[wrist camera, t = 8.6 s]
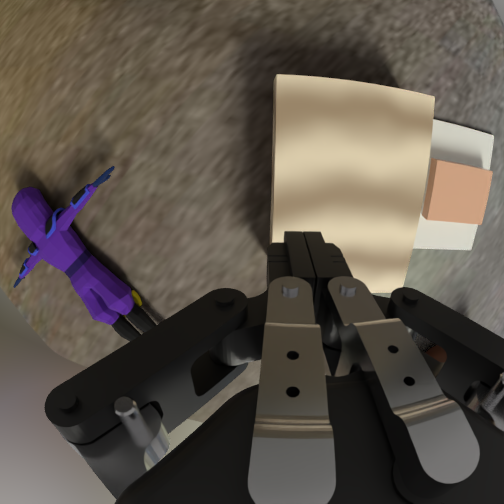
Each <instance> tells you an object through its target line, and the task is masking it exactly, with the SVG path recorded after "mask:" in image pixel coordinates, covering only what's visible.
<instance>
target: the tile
mask: <svg viewBox="0 0 504 504" xmlns="http://www.w3.org/2000/svg"><path fill="white" fill-rule="evenodd" d="M492 173H493V172H492V171H490V170H488V169H485V168H481V167H476V166H472V165H467V164H462V163H458V162H453V161H447V160H442V159H436V158H429V165H428V172H427V179H426V185H425V191H424V197H423V202H422V208H421V214H422V216H423V217H424V218H425V219H426V220H433V221H445V222H456V223H467V224H478V225H481V224H482V221H483V217H484V212H485V208H486V204H487V199H488V194H489V190H490V184H491V179H492Z"/></svg>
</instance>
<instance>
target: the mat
mask: <svg viewBox="0 0 504 504" xmlns="http://www.w3.org/2000/svg"><path fill="white" fill-rule="evenodd" d="M493 140H494V135H490V134H487V133H484V132H481V131H477V130H474V129H470V128H467V127H463V126H459V125H455V124H451V123H447V122H443V121H439V120H435V119H433V129H432V139H431V148H430V157H429V158H436V159H442V160H447V161H453V162H458V163H462V164H467V165H472V166H476V167H481V168H485V169H488V170H489V169H490V162H491V155H492V148H493ZM428 165H429V164H428ZM426 179H427V178H426ZM477 226H478V224H467V223H456V222H445V221H433V220H426V219H425V218H424V217H423V216H422V214H421V213H420V218H419V223H418V227H417V232H416V237H415V241H414V245H413V248H421V249H452V250H471V248H472V245H473V241H474V237H475V234H476V230H477Z"/></svg>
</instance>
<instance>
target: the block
mask: <svg viewBox="0 0 504 504" xmlns="http://www.w3.org/2000/svg"><path fill="white" fill-rule="evenodd" d="M434 101H435V97H434V96H430V95H426V94H421V93H417V92H413V91H408V90H404V89H399V88H394V87H388V86H383V85H377V84H371V83H365V82H358V81H351V80H343V79H334V78H325V77H314V76H301V75H282V74H277V75H276V77H275V79H274V83H273V142H272V183H271V217H270V245H271V243H272V242H284V231H302V232H303V231H320V232H321V234H322V236H323V238H324V241H325V243H333V244H335V245H336V246H337V247H338V248H340V250H341V252H342V254H343V257H344V258H345V260H346V263H347V264H348V267H349V269H350V271H351V273H352V275H353V277H354V278H356V279H358V280H360V281H362V282H363V283H364V284H365V285H366V286H367V288H368V289H369V291H370V293H388V292H392V291H393V290H395V289H397V288H400V287H403V284H404V280H405V277H406V273H407V269H408V265H409V262H410V258H411V254H412V249H413V245H414V241H415V237H416V232H417V227H418V223H419V218H420V213H421V208H422V202H423V197H424V191H425V185H426V178H427V172H428V164H429V157H430V148H431V139H432V129H433V117H434Z"/></svg>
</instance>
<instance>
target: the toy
mask: <svg viewBox="0 0 504 504" xmlns="http://www.w3.org/2000/svg"><path fill="white" fill-rule="evenodd" d="M113 170H114V166H112V167H111V168H109V169H108V170H107V171H105V172H104V173H103V174H102V175H101V176H100V177H99V178H98V179H97V180H96V181H95V182H93V183H92V184H87V185H86V186H85V187H84V188H82V189H81V190H80V191H79V192H78V193H77V194H76V195H75V196H74V197H73V198H72V200H71V202H70V206H68V207H67V208H66V209H64V208H59V209H57V210H56V211H55V212H53V211H52V209H51V208H50V207H49V205H48V204H47V202H46V201H45V200H44V198H43V196H42V194H41V192H40V190H39V189H36V188H33V187H27V188H23V189H22V190H20V191H19V192H18V193H17V195H16V196H15V198H14V200H13V203H12V214H13V216H14V218H15V220H16V222H17V224H18V226H19V227H20V228H21V230H22V231H23V232H24V233H25V234H26V236H27V237H28V238H29V239H30V240H32V243H31V244H30V246H29V247H28V252H29V254H31V255H30V257H29V258H27V259H26V260H25V261H24V263H23V265H22V267H21V270H20V273H19V275H20V276H19V277H18V279H17V280H16V282H15V284H14V288H15V287H16V286H17V285H18V284H19V283H20V281H21V280H22V279H23V278H25V276H26V275H27V274H28V273H29V272H30V271H31V270H32V269H33V268H34V266H35V264H36V263H38V262H39V261H40V260H41V259H43V260H45V261H46V262H48V263H49V264H51V265H53V266H54V267H56V268H58V269H60V270H62V271H63V272H65V273H66V275H67V276H68V277H69V278H70V280H71V283H72V286H73V287H74V289H75V291H76V292H77V294H78V295H79V296H80V297H81V298H82V300H83V302H84V304H85V305H86V307H87V309H88V310H89V312H90V314H91V316H92V318H93V319H94V320H97V321H101V322H105V323H107V324H109V325H112V327H113V328H114V330H115V331H116V332H117V333H118V334H119V335H120V336H121V337H123V338H125V339H127V340H128V341H130V342H131V341H132V340H134V339H135V338H137V337H139V336H140V335H141V334H140V333H139V332H138V331H137V330H136V329H135V328H134V327H133V326H132V325H131V324H130V323H129V322H128V321H127V320H126V318H125V317H127V318H128V319H129V320H130V321H131V322H132V323H133V324H134V325H135V326H136V327H137V328H139V329H140V330H142V331H144V332H147V331H148V330H150V329H152V328H153V327H155V326H156V324H155V323H154V321H153V320H152V319H151V318H150V317H149V316H148V315H147V313H146V312H145V311H144V310H143V309H142V308H141V305H142V301H141V298H140V297H139V295H138V294H137V293H136V292H135V291H134V290H132V291H131V288H130V287H129V286H127V285H126V284H125V283H124V282H122V281H121V280H120V279H118V278H117V277H116V276H115V275H114V274H113V273H112V272H110V271H109V270H108V269H107V268H106V267H105V266H103V265H102V264H101V263H100V262H99V261H98V260H97V259H96V258H95V257H94V256H93V255H92V254H91V253H90V252H89V251H88V250H87V249H86V247H85V246H84V244H83V243H82V241H81V240H80V238H79V237H78V235H77V234H76V232H75V231H74V230H73V229H72V228H71V226H70V224H71V223H72V221H73V219H74V217H75V216H76V214H77V213H78V212H79V211H80V210H81V209H82V208H83V207H84V205H85V204H86V203H87V201H88V200H89V199H90V197H91V196H92V194H93V193H94V191H95V190H96V188H97V187H98V185H100V184H101V183H103V182H105V181H106V180H108V179H109V178H110V176H111V175H109V174H110V173H111V172H112V171H113Z"/></svg>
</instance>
